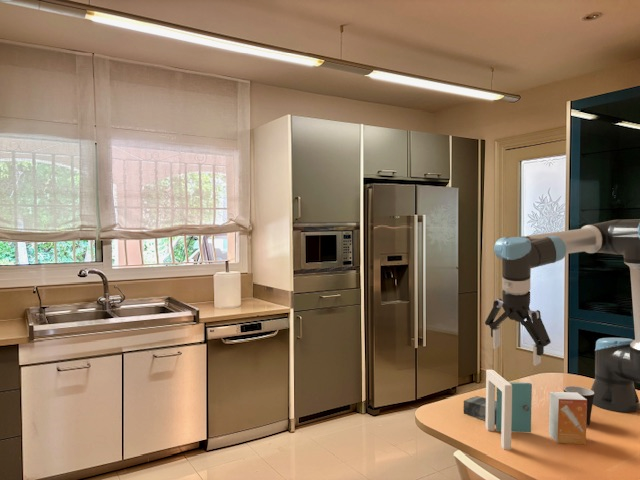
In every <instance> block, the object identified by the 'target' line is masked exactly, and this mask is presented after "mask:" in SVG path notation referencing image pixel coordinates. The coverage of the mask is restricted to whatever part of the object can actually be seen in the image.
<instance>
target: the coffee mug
mask: <svg viewBox="0 0 640 480" xmlns="http://www.w3.org/2000/svg"><path fill="white" fill-rule="evenodd" d="M563 392H577V393H579V394H580V395H581V396H583V397H584V398H585V399H587V420H586V427H587V426H589V425H590V423H591V417H592V412H593V411H592V410H593V406H594V404H593V399H594V392H593V391H592V390H591V388H587V387H583V386H575V385H569V386H566V385H565V386H564V387H563Z"/></svg>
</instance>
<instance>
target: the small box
mask: <svg viewBox="0 0 640 480" xmlns="http://www.w3.org/2000/svg"><path fill="white" fill-rule="evenodd" d="M548 412H549V415H548V434H549V436H550V437H551V438H552V439H553V440H554V441H555V442H556V444H572V445H573V444H575V445H586V444H587V443H586V442H587V426H586V420H587V399H585V398H584V397H583V396H581V395H580V394H579V393H577V392H564V391H549V410H548Z"/></svg>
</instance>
